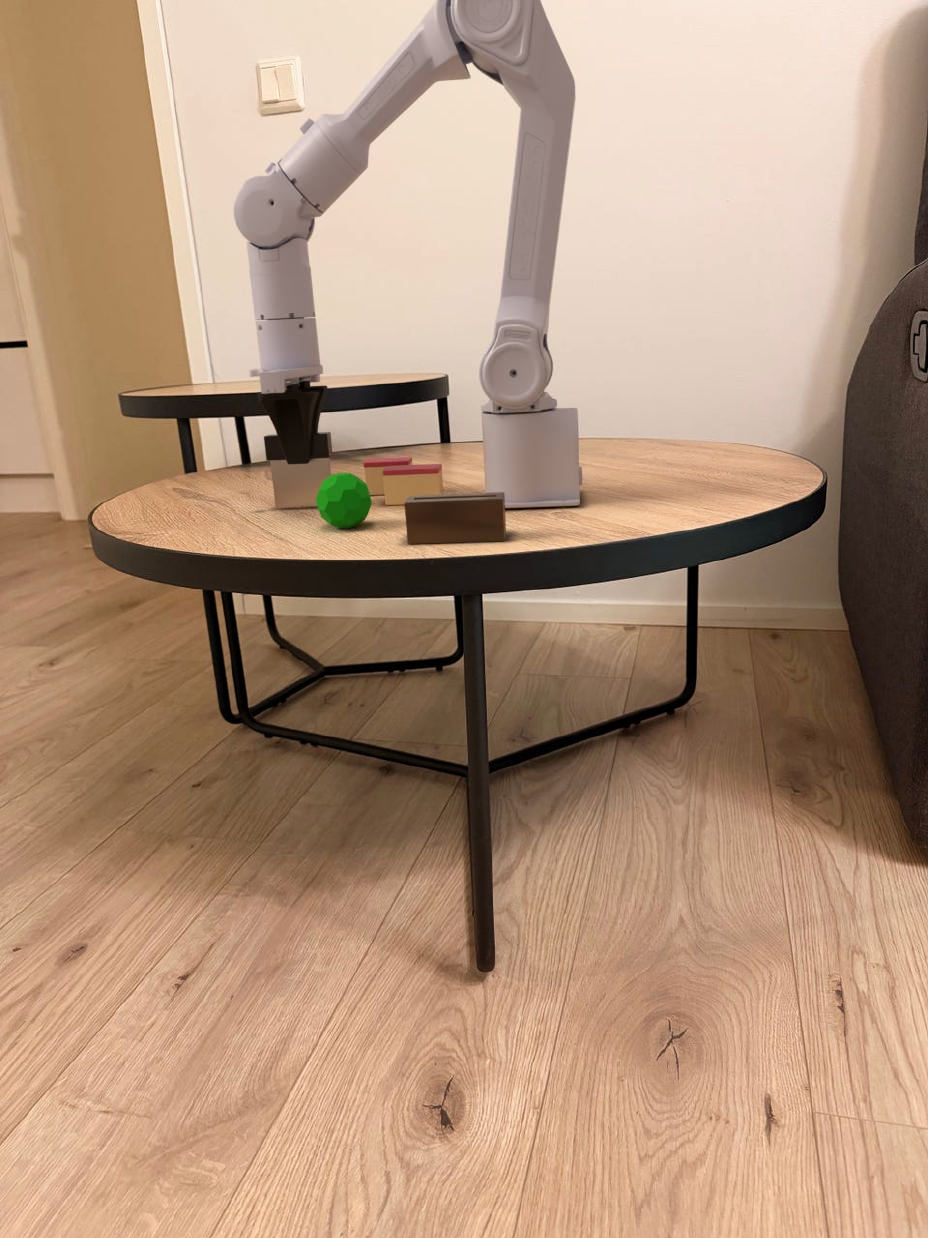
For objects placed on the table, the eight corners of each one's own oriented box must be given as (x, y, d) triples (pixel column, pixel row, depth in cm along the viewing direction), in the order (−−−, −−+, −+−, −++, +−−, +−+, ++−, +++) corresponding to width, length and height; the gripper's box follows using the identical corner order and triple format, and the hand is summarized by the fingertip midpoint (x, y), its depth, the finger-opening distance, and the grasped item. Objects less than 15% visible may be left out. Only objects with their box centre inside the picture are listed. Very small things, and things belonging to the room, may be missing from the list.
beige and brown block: (337, 503, 94) (330, 431, 92) (333, 506, 92) (326, 433, 90) (276, 505, 94) (268, 434, 92) (271, 508, 93) (263, 436, 91)
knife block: (506, 532, 78) (504, 491, 77) (504, 541, 75) (502, 498, 74) (412, 535, 78) (409, 495, 77) (407, 544, 76) (404, 502, 75)
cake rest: (443, 497, 95) (441, 463, 94) (440, 503, 92) (438, 468, 91) (390, 499, 95) (387, 465, 94) (385, 505, 92) (382, 470, 91)
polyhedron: (310, 532, 82) (304, 479, 80) (330, 520, 86) (325, 470, 85) (363, 532, 81) (358, 478, 79) (381, 520, 85) (376, 469, 84)
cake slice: (414, 489, 100) (411, 456, 99) (410, 493, 98) (408, 460, 97) (371, 490, 101) (368, 458, 100) (366, 495, 98) (363, 462, 97)
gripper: (267, 321, 95) (282, 453, 99) (219, 322, 81) (239, 475, 86) (333, 317, 94) (346, 450, 99) (297, 317, 81) (313, 472, 85)
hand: (301, 461), depth 92 cm, fingers closed on beige and brown block, 1 cm apart
